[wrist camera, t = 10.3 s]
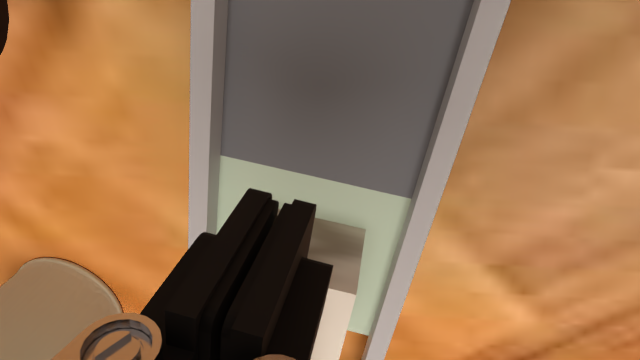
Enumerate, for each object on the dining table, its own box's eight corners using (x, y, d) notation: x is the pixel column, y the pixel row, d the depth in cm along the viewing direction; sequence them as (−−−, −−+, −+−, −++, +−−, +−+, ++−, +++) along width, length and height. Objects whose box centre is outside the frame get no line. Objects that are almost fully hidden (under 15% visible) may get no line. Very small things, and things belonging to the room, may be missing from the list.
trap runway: (648, -497, 13) (759, -702, 9) (349, 418, 35) (342, 476, 31) (258, -535, 13) (199, -737, 10) (210, 380, 36) (186, 432, 32)
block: (365, 229, 22) (356, 295, 18) (344, 310, 25) (332, 383, 21) (256, 204, 23) (222, 261, 19) (248, 285, 26) (216, 352, 21)
